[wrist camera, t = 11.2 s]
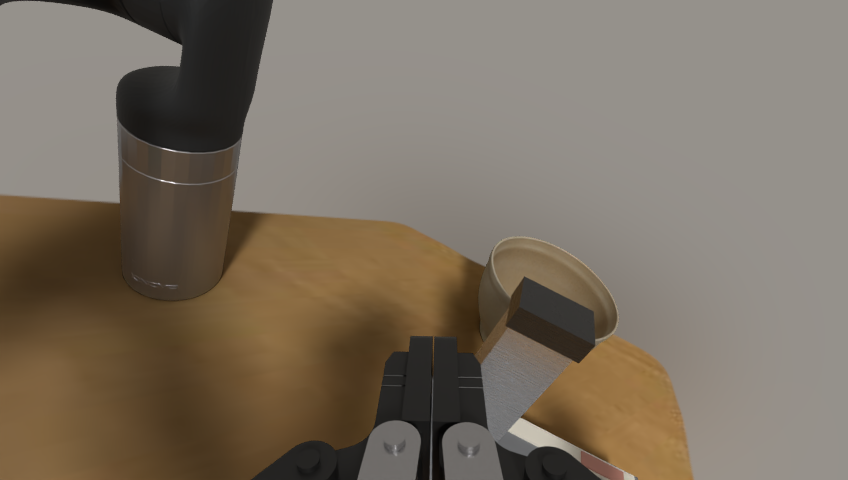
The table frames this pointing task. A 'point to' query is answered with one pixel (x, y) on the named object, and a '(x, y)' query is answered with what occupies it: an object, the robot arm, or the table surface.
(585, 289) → the planter bowl
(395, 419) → the robot arm
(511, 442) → the switch unit
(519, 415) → the lever
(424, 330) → the table surface
